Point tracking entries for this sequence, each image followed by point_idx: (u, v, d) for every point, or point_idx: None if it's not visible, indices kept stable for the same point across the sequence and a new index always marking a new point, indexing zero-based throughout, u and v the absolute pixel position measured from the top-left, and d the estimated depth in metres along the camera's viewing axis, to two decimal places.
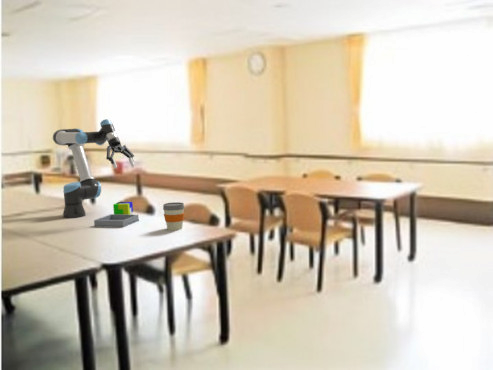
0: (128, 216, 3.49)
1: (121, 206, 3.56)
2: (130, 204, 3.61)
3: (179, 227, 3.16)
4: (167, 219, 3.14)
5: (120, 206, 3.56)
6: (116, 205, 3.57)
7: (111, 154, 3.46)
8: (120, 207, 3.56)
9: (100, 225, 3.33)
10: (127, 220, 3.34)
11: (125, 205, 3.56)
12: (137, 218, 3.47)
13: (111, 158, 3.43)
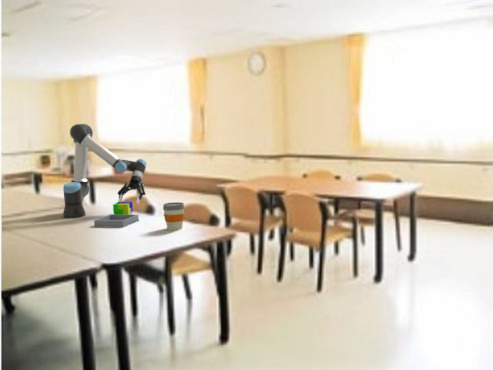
0: (128, 216, 3.49)
1: (121, 206, 3.56)
2: (130, 204, 3.61)
3: (179, 227, 3.16)
4: (167, 219, 3.14)
5: (120, 206, 3.56)
6: (116, 205, 3.56)
7: None
8: (120, 207, 3.56)
9: (100, 225, 3.33)
10: (127, 220, 3.34)
11: (125, 205, 3.55)
12: (137, 218, 3.47)
13: (141, 195, 3.67)
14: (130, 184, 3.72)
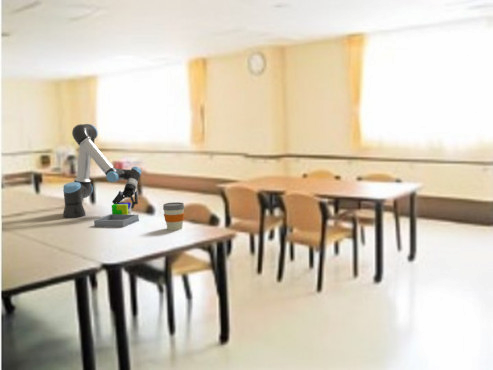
0: (128, 216, 3.49)
1: (119, 207, 3.53)
2: (128, 205, 3.58)
3: (179, 227, 3.16)
4: (167, 219, 3.14)
5: (118, 207, 3.53)
6: (114, 206, 3.53)
7: None
8: (118, 208, 3.53)
9: (100, 225, 3.33)
10: (127, 220, 3.34)
11: (124, 206, 3.53)
12: (137, 218, 3.47)
13: (134, 204, 3.62)
14: (124, 192, 3.67)
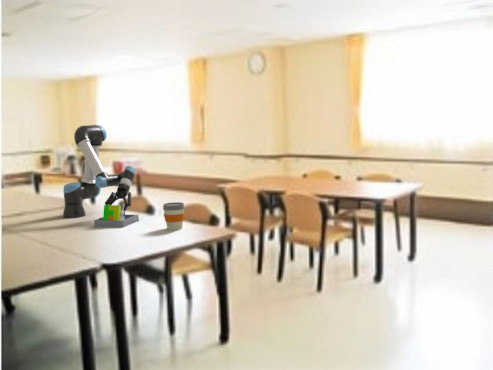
0: (128, 216, 3.49)
1: (112, 207, 3.34)
2: None
3: (179, 227, 3.16)
4: (167, 219, 3.14)
5: (111, 207, 3.34)
6: (107, 206, 3.34)
7: None
8: (111, 208, 3.34)
9: (100, 225, 3.33)
10: (127, 220, 3.34)
11: (116, 206, 3.33)
12: (137, 218, 3.47)
13: (126, 206, 3.41)
14: (117, 193, 3.46)
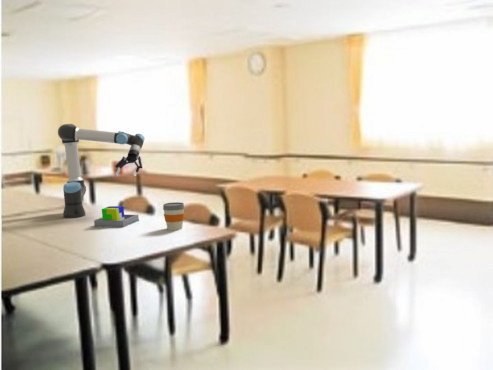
0: (128, 216, 3.49)
1: (109, 211, 3.32)
2: (120, 209, 3.37)
3: (179, 227, 3.16)
4: (167, 219, 3.14)
5: (108, 211, 3.32)
6: (104, 210, 3.33)
7: (137, 164, 3.73)
8: (108, 212, 3.33)
9: (100, 225, 3.33)
10: (127, 220, 3.34)
11: (113, 210, 3.31)
12: (137, 218, 3.47)
13: (139, 168, 3.71)
14: (128, 157, 3.76)
